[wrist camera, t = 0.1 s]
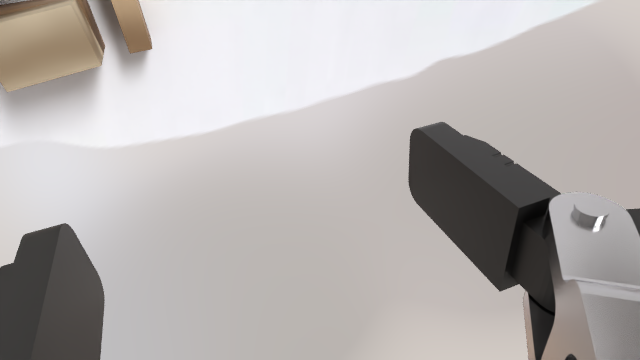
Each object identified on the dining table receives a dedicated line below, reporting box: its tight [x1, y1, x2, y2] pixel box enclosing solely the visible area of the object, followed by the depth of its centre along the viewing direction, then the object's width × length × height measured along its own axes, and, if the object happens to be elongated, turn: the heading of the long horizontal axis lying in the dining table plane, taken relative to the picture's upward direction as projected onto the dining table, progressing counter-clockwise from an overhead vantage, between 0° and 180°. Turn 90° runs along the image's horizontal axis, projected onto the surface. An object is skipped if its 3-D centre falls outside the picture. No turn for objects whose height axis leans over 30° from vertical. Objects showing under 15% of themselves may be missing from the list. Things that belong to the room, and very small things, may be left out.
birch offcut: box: [0, 0, 104, 92], centre depth 28 cm, size 4×6×3 cm, turn 100°
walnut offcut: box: [0, 0, 105, 53], centre depth 30 cm, size 4×6×3 cm, turn 96°
